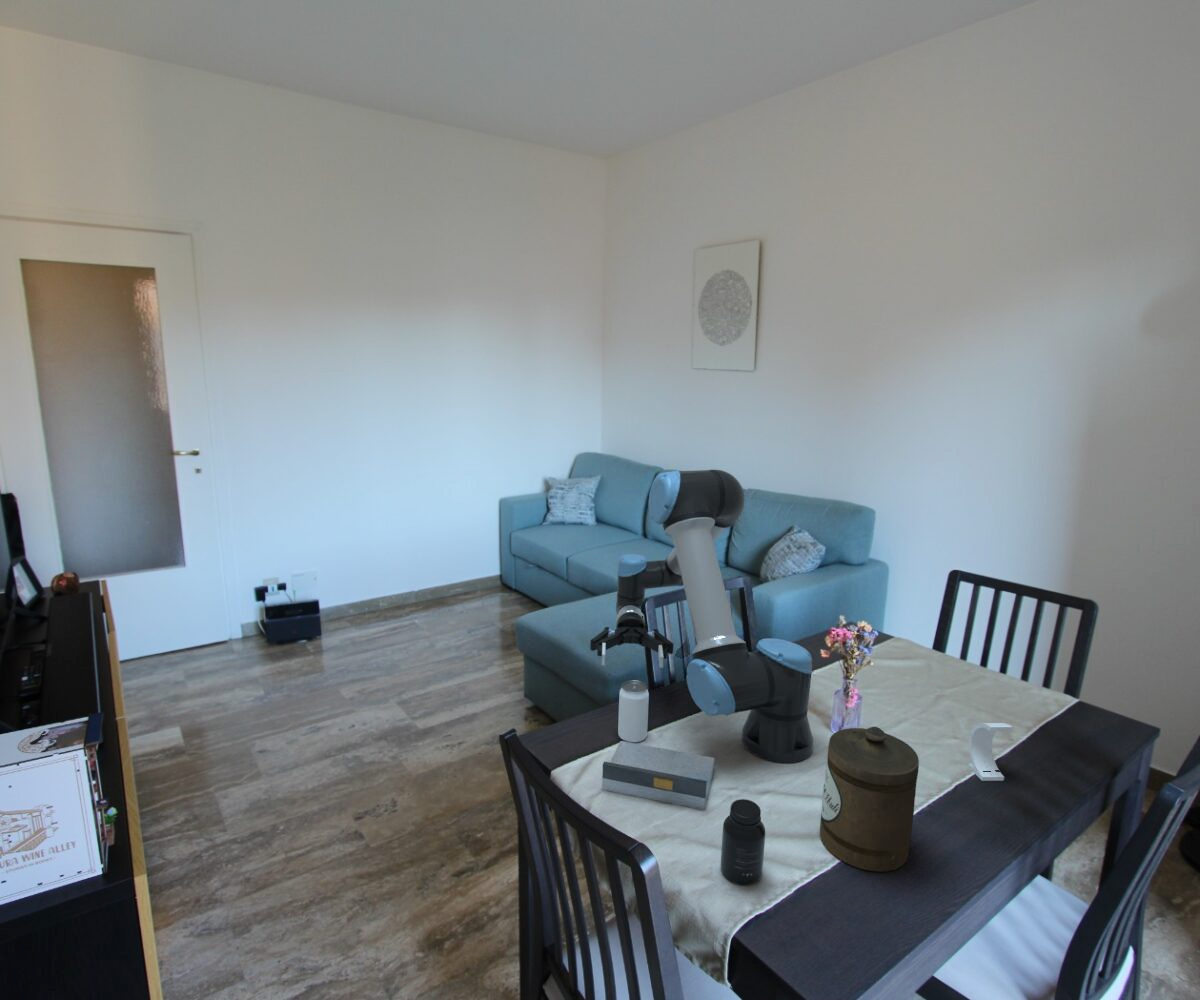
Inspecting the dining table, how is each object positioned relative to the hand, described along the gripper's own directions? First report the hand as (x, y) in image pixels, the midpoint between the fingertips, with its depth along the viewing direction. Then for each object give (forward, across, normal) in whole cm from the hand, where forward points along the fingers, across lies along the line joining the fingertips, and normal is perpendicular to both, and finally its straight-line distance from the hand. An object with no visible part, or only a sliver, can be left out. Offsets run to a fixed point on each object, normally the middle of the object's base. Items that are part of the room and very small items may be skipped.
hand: (632, 661), depth 164 cm
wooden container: (+43, -40, -12) cm, 60 cm away
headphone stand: (+20, -73, -12) cm, 77 cm away
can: (+10, 0, -13) cm, 17 cm away
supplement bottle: (+51, -17, -12) cm, 55 cm away
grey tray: (+26, -5, -13) cm, 30 cm away
